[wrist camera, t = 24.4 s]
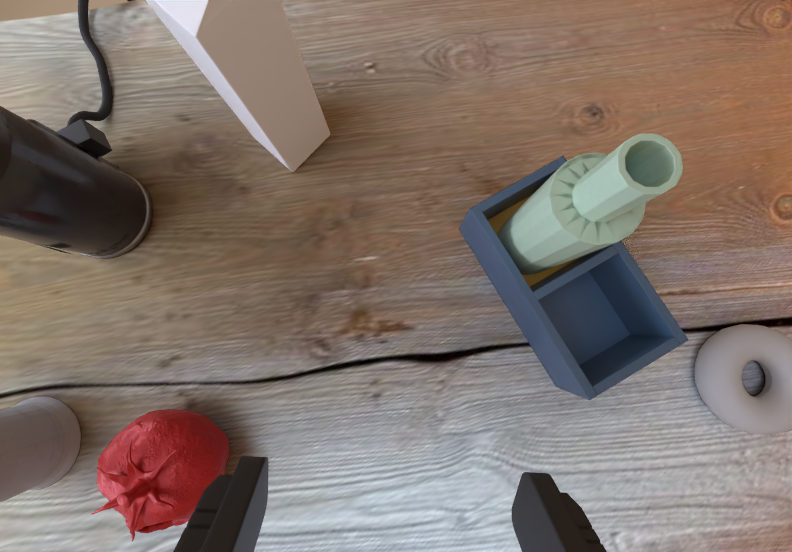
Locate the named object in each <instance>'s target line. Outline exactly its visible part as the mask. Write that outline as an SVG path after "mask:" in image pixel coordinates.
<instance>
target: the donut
mask: <svg viewBox="0 0 792 552" xmlns="http://www.w3.org/2000/svg"><path fill="white" fill-rule="evenodd" d="M752 360H754V361H757V362H758V363H759V364H760V366H761V367H762V368H763V371H764V373H765V380H766V382H765V386H764V389H763V390H762V391H761V393H760V394H758V395H757V396H754V397H753V396H751V395H749V394H748V393H747V391H746V390H745V388H744V386H743V383H742V372H743V368H744V367H745V365H746V364H747V363H748V362H749V361H752ZM695 382H696V385H697V388H698V391H699V394H700V396H701V398H702V399H703V401H704V402H705V403H706V405H707V406H708V408H709V409H710V410H711V412H712V413H713V414H715V415H716V416H717V417H718V418H720V419H721V420H722V421H723V422H725V423H726V424H727V425H729V426H731V427H734V428H736V429H739V430H741V431H744V432H746V433H750V434H760V435H775V434H779V433H782V432H786V431H790V430H792V340H791V339H790V338H789V337H787V336H786V335H785V334H783V333H781V332H779V331H776V330H773V329H771V328H768V327H765V326H760V325H747V324H741V325H736V326H732V327H728V328H724V329H722V330H720V331H719V332H717V333H716V334H714V335H713V336H711V337H710V338H708V339H707V340H706V342H705V343H704V345H703V346H702V347H701V349H700V350H699V352H698V355H697V359H696V362H695Z"/></svg>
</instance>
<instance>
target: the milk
mask: <svg viewBox="0 0 792 552" xmlns="http://www.w3.org/2000/svg"><path fill="white" fill-rule="evenodd" d="M146 2H147V3H148V4H149V5H150V7H151V8H152V9H153V11H154V12H155V13H156V14H157V16H158V17H159V18H160V19H161V21H162V22H163V23H164V24H165V26H166V27H167V28H168V30H169V31H170V32H171V33H172V35H173V36H174V37H175V38H176V40H177V41H178V42H179V43H180V45H181V46H182V47H183V49H184V50H185V51H186V52H187V54H188V55H189V56H190V57H191V59H192V60H193V61H194V62H195V64H196V65H197V66H198V68H199V69H200V70H201V71H202V73H203V74H204V75H205V76H206V78H207V79H208V80H209V81H210V83H211V84H212V85H213V87H214V88H215V89H216V90H217V92H218V93H219V94H220V95H221V97H222V98H223V99H224V100H225V102H226V103H227V104H228V105H229V107H230V108H231V109H232V111H233V112H234V113H235V114H236V116H237V117H238V118H239V119H240V121H241V122H242V123H243V124H244V126H245V127H246V128H247V130H248V131H249V132H250V133H251V135H252V136H253V137H254V138H255V139H256V140H257V141H258V142H259V143H260V144H261V145H262V146H264V147H265V148H266V149H267V150H268V151H269V152H270V153H271V154H272V155H273V156H275V157H276V158H277V159H278V160H279V161H280V162H281V163H282V164H283V165H285V166H286V167H287V168H288V169H289V170H290V171H291V172H294V171H295V170H296V169H297V168H298V167H299V166H300V165H301V164H302V163H303V162H304V161H305V160H306V159H307V158H308V157H309V156H310V155H311V154H312V153H313V152H314V151H315V150H316V149H317V148H318V147H319V146H320V145H321V144H322V143H323V142H324V141H325V140H326V139H327V138H328V137H329V136H330V131H329V128H328V126H327V123H326V120H325V118H324V115H323V112H322V110H321V107H320V104H319V102H318V99H317V96H316V94H315V91H314V88H313V86H312V83H311V80H310V78H309V75H308V72H307V70H306V67H305V64H304V62H303V59H302V56H301V54H300V51H299V48H298V46H297V43H296V40H295V38H294V35H293V32H292V30H291V27H290V24H289V22H288V19H287V16H286V14H285V11H284V8H283V6H282V3H281V0H146Z"/></svg>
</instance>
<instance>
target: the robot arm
mask: <svg viewBox="0 0 792 552" xmlns="http://www.w3.org/2000/svg"><path fill="white" fill-rule="evenodd" d="M88 1H89V0H78V19H79V28H80V32H81V35H82V37H83V40H84V42H85V43H86V45H87V47H88V48H89V50H90V51H91V53H92V54H93V56H94V58H95V60H96V63H97V67H98V72H99V76H100V81H101V86H102V94H103V100H102V105H101V107H100V109H99V111H98V112H88V111H80V112H78V113H76V114H74V115H73V116H72V117H71V118H70V120H69V121H68V124H67V127H65V128H63V129H61V130H59V131H57V132H55V131H54V130H52V129H50V128H48V127H46V126H45V125H43V124H41V123H39V122H37V121H35V120H31V119H27V120H25V119H23V118H22V117H20V116H18V115H16V114H14V113H12V112H11V111H9V110H7V109H5V108H3V107H1V106H0V235H1V236H6V237H10V238H14V239H19V240H23V241H27V242H30V243H33V244H37V245H40V244H41V245H40V246H43V247H47V246H50V247H47V248H50V249H54V248H51V247H55V248H59V249H63V250H68V251H73V252H77V253H81V254H83V255H86V256H90V257H95V258H113V257H117V256H120V255H123V254H125V253H127V252H128V251H130V250H131V249H133V248H134V247H135V246H136V245H138V244H139V242H140V241H141V240H142V239H143V238H144V236H145V235H146V233H147V231H148V229H149V227H150V224H151V220H152V212H153V209H152V202H151V198H150V195H149V193H148V191H147V190H146V188H145V187H144V186H143V185H142V184H141V183H140V182H139V181H138V180H137V179H135V178H133V177H132V176H130V175H128V174H126V173H124V172H121V171H120V169H119V167H118V166H116V165H114V164H113V163H111V162H109V161H107V160H105V159H104V158H102V156H103V155H105V154H107V153H109V152H111V151H112V149H111V147H110V145H109V143H108V141H107V139H106V137H105V135H104V133H103V132H101V131H100V130H98V129H97V128H95V127H94V126H92V125H91V124H89V123H87V122H86V121H84V120H92V121H101V120H104V119H105V118H106V117H107V116H108V115H109V113H110V111H111V107H112V90H111V85H110V80H109V75H108V71H107V67H106V63H105V60H104V58H103V56H102V54H101V52H100V50H99V49H98V47H97V46H96V44H95V43H94V41H93V39H92V37H91V35H90V32H89V24H88ZM127 1H128V2H129V1H134V0H127ZM44 245H46V246H44ZM54 250H57V249H54ZM57 251H60V252H64V251H61V250H57ZM64 253H67V252H64ZM69 254H71V253H69ZM267 498H268V457H252V456H242V457H241V459H240V461H239V463H238V465H237V467H236V470H235V472H234V474H233V476H232V475H219V476H218V477H217V478H216V479H215V480H214V481H213V482H212V483H211V484H210V485H209V486H208V487H207V488H206V489H205V490H204V491H203V493H202V495H201V497H200V499H199V501H198V504H197V506H196V508H195V511H194V512H193V514H192V516H191V518H190V520H189V522H188V524H187V527H186V528H185V530H184V532H183V534H182V536H181V538H180V540H179V542H178V544H177V546H176V548H175V550H174V552H254V549H255V545H256V542H257V539H258V535H259V532H260V529H261V525H262V522H263V519H264V515H265V510H266V505H267ZM512 522H513V527H514V530H515V533H516V536H517V538H518V541H519V544H520V547H521V549H522V552H606V550H605V548H604V546H603V545H602V544H601V543H600V539H599V538H598V536H597V534H596V532H595V531H594V529H592V526H591V524H590V522H589V520H588V519H587V517H586V515H585V513H584V512H583V510H582V508H581V507H580V506H579V505H578V504H577V503H576V502H575V501H574V500H573V499H572V498H571V497H570V496H569V495H568V494H567V493H560V491H559V490H558V488H557V486H556V484H555V482H554V480H553V479H552V477H551V476H550V475H549V474H547V473H531V472H524V473H523V474H522V476H521V479H520V483H519V486H518V489H517V493H516V496H515V499H514V503H513V506H512Z"/></svg>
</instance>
